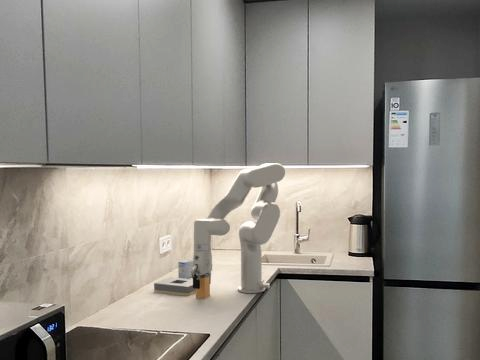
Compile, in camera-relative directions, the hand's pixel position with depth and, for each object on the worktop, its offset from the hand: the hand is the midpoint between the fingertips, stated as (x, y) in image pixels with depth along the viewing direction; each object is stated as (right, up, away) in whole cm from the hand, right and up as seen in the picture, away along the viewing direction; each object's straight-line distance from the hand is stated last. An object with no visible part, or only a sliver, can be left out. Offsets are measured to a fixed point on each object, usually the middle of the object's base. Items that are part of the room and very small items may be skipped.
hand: (201, 286), depth 212 cm
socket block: (-12, -5, +12) cm, 18 cm away
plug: (+1, -5, 0) cm, 5 cm away
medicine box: (-11, -5, +40) cm, 42 cm away
